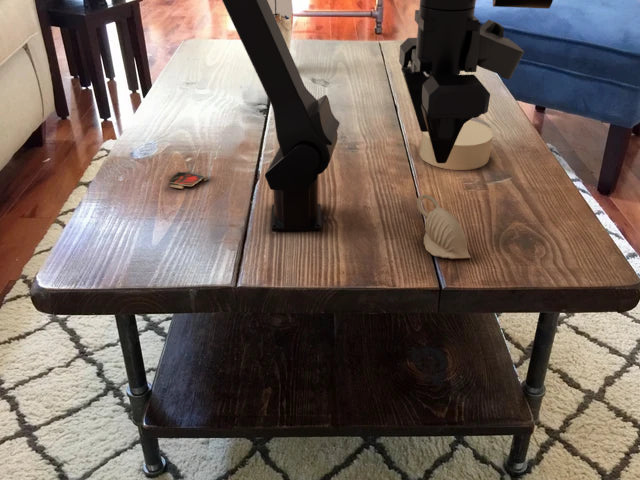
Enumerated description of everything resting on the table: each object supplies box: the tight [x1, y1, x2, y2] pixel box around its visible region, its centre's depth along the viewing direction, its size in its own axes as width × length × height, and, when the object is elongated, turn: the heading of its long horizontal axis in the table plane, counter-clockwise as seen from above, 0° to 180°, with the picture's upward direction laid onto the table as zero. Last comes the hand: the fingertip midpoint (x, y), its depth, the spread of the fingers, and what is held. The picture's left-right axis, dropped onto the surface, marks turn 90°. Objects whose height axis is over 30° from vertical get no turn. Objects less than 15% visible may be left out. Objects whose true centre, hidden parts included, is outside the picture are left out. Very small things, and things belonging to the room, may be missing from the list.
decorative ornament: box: [416, 193, 472, 260], centre depth 78 cm, size 4×8×5 cm, turn 23°
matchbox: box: [168, 171, 209, 190], centre depth 93 cm, size 5×5×1 cm
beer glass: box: [267, 0, 294, 52], centre depth 130 cm, size 7×7×15 cm
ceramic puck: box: [418, 119, 494, 171], centre depth 101 cm, size 11×11×4 cm
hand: (432, 146), depth 76 cm, fingers open, 9 cm apart
